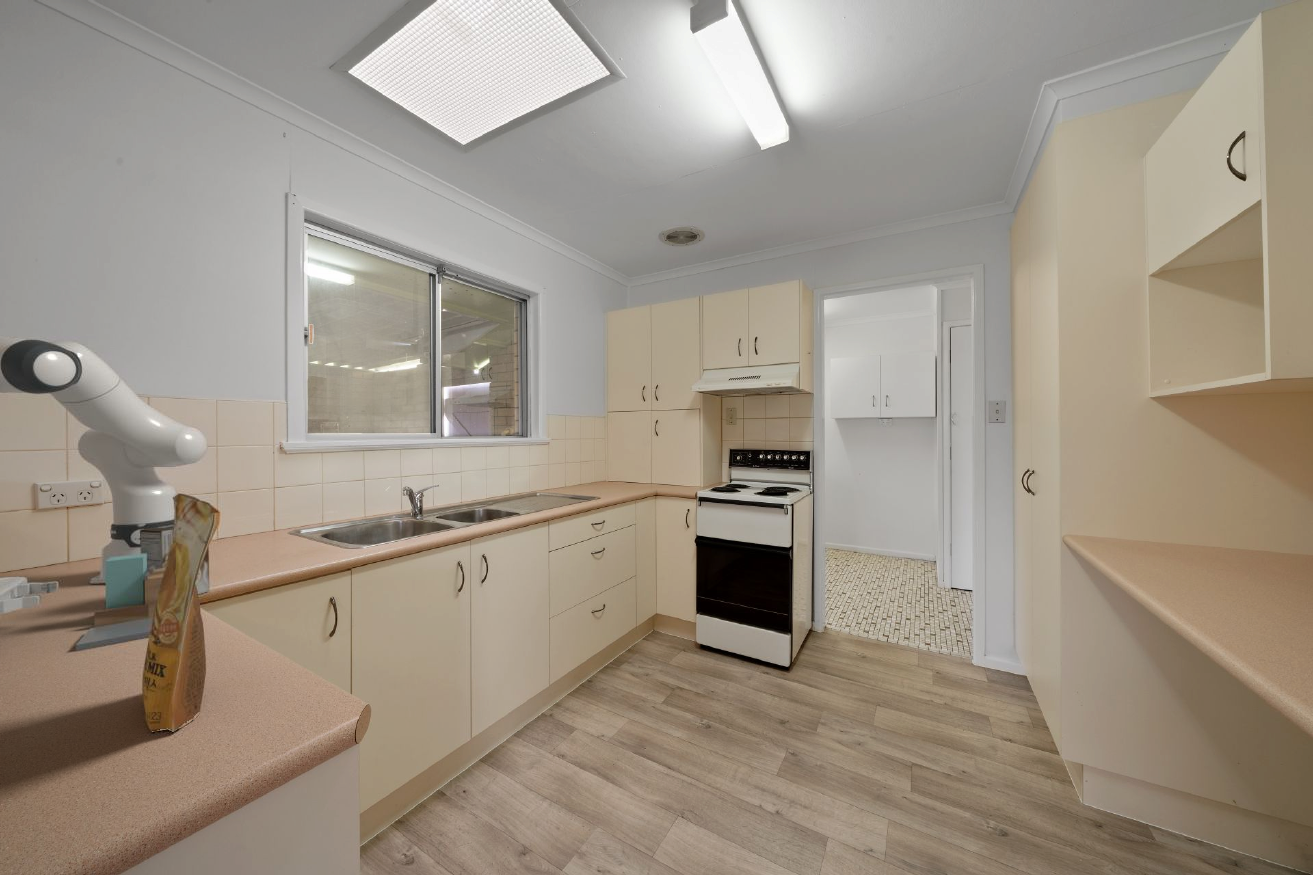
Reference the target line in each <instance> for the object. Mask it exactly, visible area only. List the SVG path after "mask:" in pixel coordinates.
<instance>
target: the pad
mask: <svg viewBox="0 0 1313 875" xmlns="http://www.w3.org/2000/svg"><path fill="white" fill-rule="evenodd" d="M152 621H153V618H148V619H142V620H136V621H130V622H124V623H118V624H113V625H107V626H101V627H95V626H94V627H91V628H88V630H87V631H86V633H85V634H84V635H83V636H82V637H81V638H80V640H79V641H77V643H76V644H75V651H76V652H79V651H81V650H82V651H83V650H88V649H93V648H98V647H103V646H104V647H105V646H109V645H115V644H121V643H125V642H129V641H136V640H140V639H141V640H142V639H146V638H149V636H150V630H151V626H152Z"/></svg>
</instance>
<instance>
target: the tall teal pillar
mask: <svg viewBox="0 0 1313 875" xmlns="http://www.w3.org/2000/svg"><path fill="white" fill-rule="evenodd" d="M146 571H147V553H145V554H135V555H126V556H117V557H110V558H109V559H108V560H106V561H105V577H106V583H105V601H106V610H107V609H113V608H119V607H126V606H132V605H139V604H145V580H144V581H143V575H144V574H145V573H146Z"/></svg>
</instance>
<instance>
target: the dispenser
mask: <svg viewBox="0 0 1313 875" xmlns="http://www.w3.org/2000/svg"><path fill="white" fill-rule="evenodd" d="M164 572H165V568H159V569H155V565H153V566H151V567H150V568H149V569H148V570H147V571H146V573H145V574H144V575H143V581H144V580H145V604H139V605H132V606H126V607H119V608H113V609H107V610H106V600H105V602H104V609H103V610H95V611H94V613H93V614H94V628H95V627H101V626H107V625H113V624H118V623H124V622H130V621H136V620H142V619H148V618H153V616H154V611H155V606H156V602H157V598H158V593H159V589H160V585H161V582H162V578H163V575H164Z"/></svg>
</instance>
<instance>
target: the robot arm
mask: <svg viewBox="0 0 1313 875" xmlns="http://www.w3.org/2000/svg"><path fill="white" fill-rule="evenodd" d="M0 393H3V394H5V393H7V394H8V393H14V394H15V393H18V394H21V393H24V394H26V393H28V394H32V395H33V394H34V395H42V394H50V395H51V397H53V398H54V399H55V400H56V401H57V402H58V403H60V405H61V406H62V407H63V408H64V409H65V410H66V411H67V412H69V413H70V414H71V415H72V416H73V417H74V419H75V420H77V421H78V422H80V424H82V425H83V426H85V427H87V428H89V429H87V430H86V431H84V432H83V434H82V435H81V436H80V437H79V440H78V443H77V449H78V453H79V455H80V456H81V458H82V459H83V460H84V461H86V462H87V463H89V465H90V464H91V465H92V466H93V467H95V468H96V469H97V470H98V471H99V472H100V473H101V475H102V476H103V478H104V480H105V481H106V482H107V485H108V486H109V490H110V492H111V498H112V510H113V511H112V513H113V516H112V517H113V523H112V524H111V525H110V530H109V532H110V539H111V541H110V542H109V543H108V544H107V545H105V546H104V547H102V549H101V555H100V556H101V557H100V558H101V559H100V574H98V575H96V576H94V577H92V578H90V581H89V584H106V577H105V561H106V560H108V559H109V558H110V557H117V556H126V555H135V554H141V550H140V530H142V529H149V528H155V527H161V526H167V525H174V513H175V510H174V500H173V497H174V496H176V495H177V492H176V489H175V487H173V485H172V484H170V483H168V482H166V481H163V479H161V478H160V477H159V475H158V474H157V472H156V469H155V468H173V467H181V466H186V465H192V464H195V463H198V462H199V461H200V460H202V459H203V457H204V456H205V454H206V452H207V450H208V443H207V439H206V436H205V435H204V434H203V432H202V431H200V429H197V428H195V427H192V426H189V425H186V424H184V423H181V422H179V421H176V420H174V419H173V418H170V417H169V416H167V415H165V414H163V413H162V412H160V411H159V410H157V409H155V408H153V407H152V406H150V404H148V403H146V402H145V401H144V400H142V399H141V398H140V397H139V395H137V394H136V393H135V391H133V390H132V389H131V388H130V386H128V384H127V383H126V382H125V381H124V380H123V379H122V378H121V377H120V376H119V374H118V373H116V371H115V370H114V369H113V368H112V367H111V366H109V365H108V363H106V362H105V361H104V360H103V359H102V358H101V357H99V355H97V354H96V353H94V352H93V351H92V350H91V349H90V348H88V347H86V346H84V345H83V344H81V343H78V342H75V341H69V340H56V341H49V342H48V341H45V340H39V339H27V338H22V337H15V336H9V335H8V336H7V335H6V336H5V335H0ZM57 590H59V582H58V581H48V582H28V578H27V577H25V576H5V577H0V615H2V614H6V613H10V612H14V611H18V610H21V609H27V608H32V607H34V608H35V607H37V606H38V605H39V604H41V602H42V596H41V595H45V594H51V593H52V594H53V593H54V592H56V591H57Z"/></svg>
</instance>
